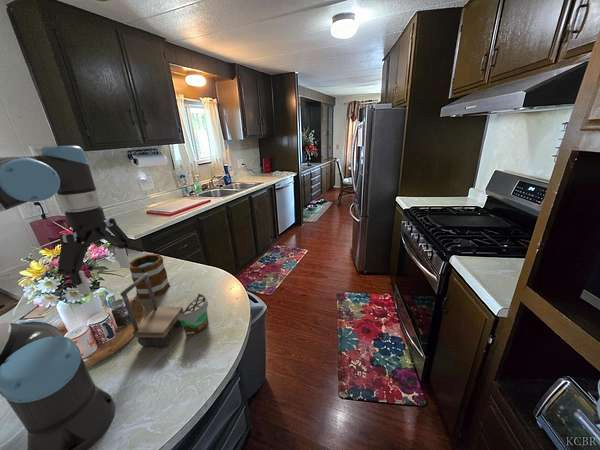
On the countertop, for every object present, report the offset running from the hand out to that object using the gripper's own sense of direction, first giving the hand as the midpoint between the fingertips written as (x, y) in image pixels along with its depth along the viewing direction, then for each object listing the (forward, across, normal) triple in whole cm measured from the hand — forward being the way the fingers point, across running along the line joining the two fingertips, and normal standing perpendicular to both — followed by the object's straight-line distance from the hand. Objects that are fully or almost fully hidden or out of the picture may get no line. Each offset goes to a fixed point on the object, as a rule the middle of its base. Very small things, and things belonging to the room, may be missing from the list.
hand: (107, 279), depth 70 cm
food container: (+27, +12, -18) cm, 34 cm away
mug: (+27, +35, +16) cm, 47 cm away
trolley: (+27, +7, -7) cm, 28 cm away
